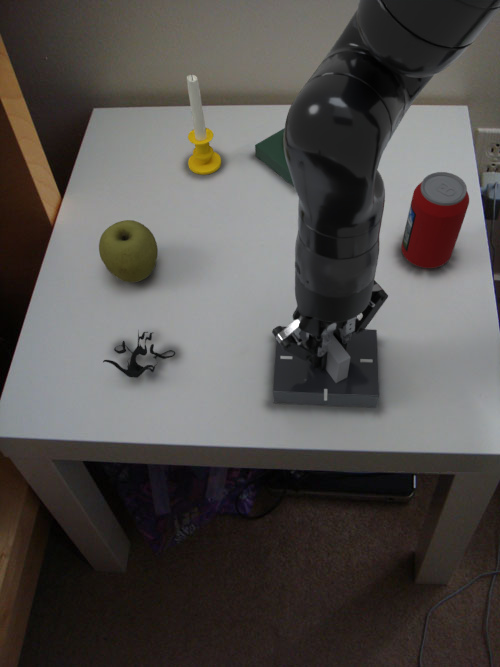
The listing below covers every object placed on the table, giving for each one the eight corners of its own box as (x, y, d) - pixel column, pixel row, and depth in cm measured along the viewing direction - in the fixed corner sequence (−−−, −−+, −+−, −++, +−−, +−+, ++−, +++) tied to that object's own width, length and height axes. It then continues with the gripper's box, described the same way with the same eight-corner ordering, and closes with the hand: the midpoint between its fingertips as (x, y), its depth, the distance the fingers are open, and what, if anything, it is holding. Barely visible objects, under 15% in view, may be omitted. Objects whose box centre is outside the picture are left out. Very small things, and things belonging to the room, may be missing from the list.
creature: (123, 338, 78) (102, 384, 73) (116, 308, 75) (93, 353, 69) (181, 345, 77) (164, 391, 72) (177, 314, 74) (158, 361, 68)
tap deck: (373, 337, 75) (376, 322, 72) (376, 414, 69) (379, 402, 67) (277, 333, 76) (277, 319, 73) (273, 409, 70) (272, 397, 68)
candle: (223, 152, 95) (212, 62, 82) (219, 175, 93) (207, 85, 80) (191, 152, 96) (175, 62, 83) (186, 174, 93) (169, 85, 80)
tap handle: (347, 377, 69) (351, 355, 65) (336, 383, 68) (338, 362, 64) (316, 336, 72) (318, 313, 68) (305, 342, 72) (306, 320, 68)
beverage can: (420, 227, 84) (437, 160, 74) (460, 251, 82) (484, 185, 72) (390, 254, 82) (403, 188, 72) (430, 280, 79) (450, 216, 69)
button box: (312, 122, 98) (313, 101, 95) (355, 153, 94) (357, 132, 90) (255, 156, 95) (254, 135, 91) (296, 189, 90) (297, 168, 87)
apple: (154, 241, 86) (144, 205, 80) (169, 282, 82) (160, 247, 76) (102, 257, 85) (88, 222, 79) (115, 299, 81) (101, 265, 75)
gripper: (293, 323, 52) (293, 411, 67) (420, 259, 55) (394, 356, 70) (251, 266, 56) (259, 361, 70) (372, 209, 59) (357, 312, 73)
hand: (326, 359), depth 70 cm, fingers closed on tap handle
